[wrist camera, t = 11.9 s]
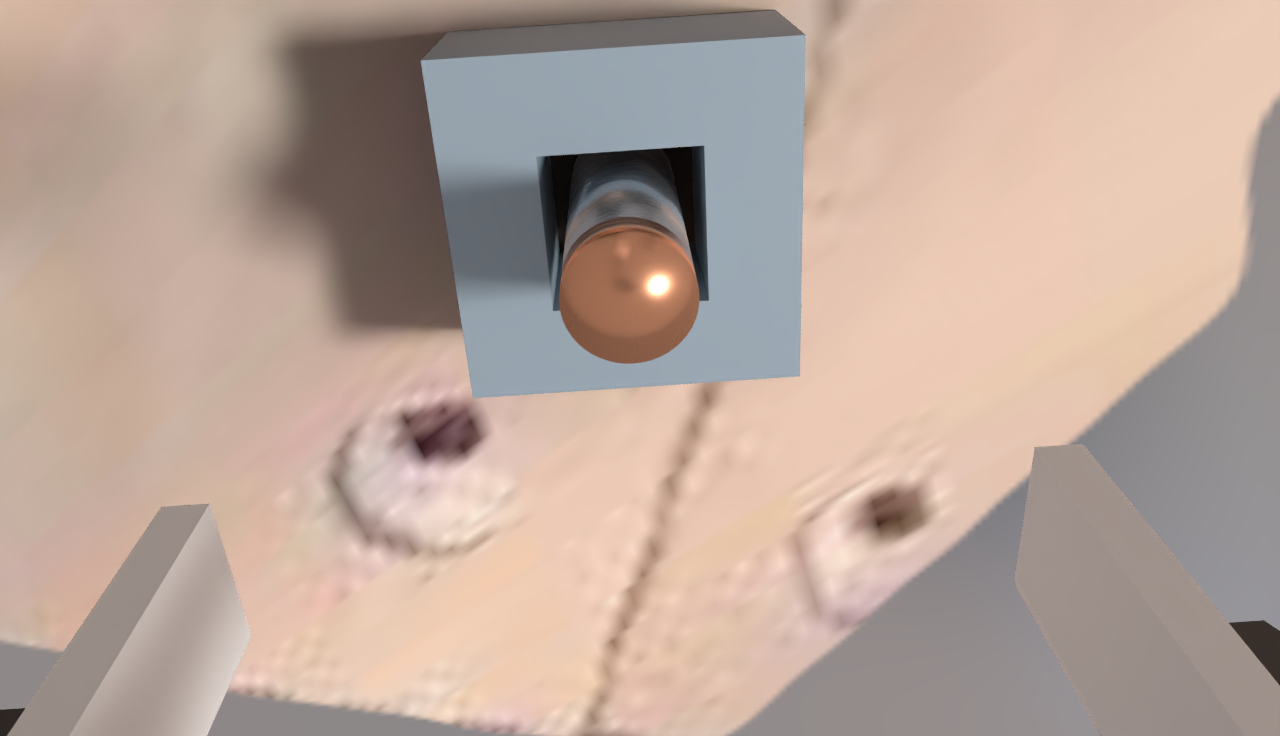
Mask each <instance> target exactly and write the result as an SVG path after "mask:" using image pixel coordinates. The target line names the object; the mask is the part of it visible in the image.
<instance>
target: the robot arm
mask: <svg viewBox="0 0 1280 736" xmlns="http://www.w3.org/2000/svg"><path fill="white" fill-rule="evenodd" d="M1014 583H1015V585H1016V587H1017V589H1018V590H1019V592H1020V594H1021V596H1022V597H1023V599H1024V601H1025V603H1026V604H1027V606H1028V608H1029V610H1030V612H1031V613H1032V615H1033V617H1034V619H1035V621H1036V622H1037V624H1038V626H1039V627H1040V629H1041V631H1042V633H1043V635H1044V636H1045V638H1046V640H1047V642H1048V643H1049V645H1050V647H1051V649H1052V651H1053V652H1054V654H1055V656H1056V657H1057V659H1058V661H1059V663H1060V665H1061V666H1062V668H1063V670H1064V672H1065V674H1066V675H1067V677H1068V679H1069V681H1070V682H1071V684H1072V686H1073V688H1074V689H1075V691H1076V693H1077V695H1078V696H1079V698H1080V700H1081V702H1082V704H1083V705H1084V707H1085V709H1086V711H1087V712H1088V714H1089V715H1090V718H1091V719H1092V721H1093V723H1094V725H1095V726H1096V728H1097V730H1098V732H1099V733H1100V735H1101V736H1280V631H1279V630H1277V629H1276V628H1274V627H1272V626H1271V625H1270V624H1268V623H1267V622H1265V621H1264V620H1263V621H1249V622H1236V623H1228V622H1227V620H1226V619H1225V618H1224V617H1223V616H1222V614H1221V613H1220V612H1219V610H1218V609H1217V608H1216V607H1215V606H1214V604H1213V603H1212V602H1211V601H1210V599H1209V598H1208V597H1207V596H1206V594H1205V593H1204V592H1203V591H1202V590H1201V588H1200V587H1199V586H1198V585H1197V583H1196V582H1195V581H1194V580H1193V579H1192V577H1191V576H1190V575H1189V574H1188V573H1187V571H1186V570H1185V569H1184V568H1183V566H1182V565H1181V564H1180V563H1179V561H1178V560H1177V559H1176V558H1175V556H1174V555H1173V554H1172V553H1171V552H1170V550H1169V549H1168V548H1167V547H1166V546H1165V544H1164V543H1163V542H1162V541H1161V539H1160V538H1159V537H1158V536H1157V535H1156V533H1155V532H1154V531H1153V530H1152V528H1151V527H1150V526H1149V525H1148V523H1147V522H1146V521H1145V520H1144V518H1143V517H1142V516H1141V515H1140V514H1139V512H1138V511H1137V510H1136V509H1135V507H1134V506H1133V505H1132V504H1131V503H1130V501H1129V500H1128V499H1127V498H1126V496H1125V495H1124V494H1123V493H1122V492H1121V491H1120V489H1119V488H1118V487H1117V485H1116V484H1115V483H1114V482H1113V480H1112V479H1111V478H1110V477H1109V476H1108V474H1107V473H1106V472H1105V471H1104V469H1103V468H1102V467H1101V466H1100V465H1099V463H1098V462H1097V461H1096V460H1095V458H1094V457H1093V456H1092V455H1091V453H1090V452H1089V451H1088V450H1087V449H1086V447H1085V446H1084V445H1083V444H1077V445H1061V446H1047V447H1035V449H1034V456H1033V462H1032V469H1031V476H1030V482H1029V489H1028V495H1027V503H1026V509H1025V515H1024V522H1023V529H1022V535H1021V542H1020V548H1019V555H1018V562H1017V568H1016V575H1015V582H1014ZM251 636H252V635H251V631H250V628H249V625H248V622H247V619H246V616H245V613H244V610H243V606H242V603H241V600H240V597H239V594H238V591H237V588H236V585H235V581H234V578H233V575H232V572H231V569H230V566H229V563H228V560H227V556H226V553H225V550H224V547H223V544H222V541H221V538H220V535H219V531H218V528H217V525H216V522H215V519H214V516H213V513H212V509H211V506H210V504H198V505H183V506H169V507H161V508H160V510H159V511H158V513H157V514H156V516H155V517H154V519H153V520H152V522H151V523H150V525H149V526H148V528H147V529H146V530H145V532H144V533H143V535H142V536H141V538H140V539H139V541H138V542H137V544H136V545H135V547H134V548H133V550H132V551H131V553H130V554H129V556H128V557H127V559H126V560H125V562H124V563H123V565H122V566H121V568H120V569H119V570H118V572H117V573H116V575H115V576H114V578H113V579H112V581H111V582H110V584H109V585H108V587H107V588H106V590H105V591H104V593H103V594H102V596H101V597H100V599H99V600H98V602H97V603H96V605H95V606H94V608H93V609H92V610H91V612H90V613H89V615H88V616H87V618H86V619H85V621H84V622H83V624H82V625H81V627H80V628H79V630H78V631H77V633H76V634H75V636H74V637H73V639H72V640H71V642H70V643H69V645H68V646H67V648H66V649H65V651H64V652H63V653H62V655H61V656H60V658H59V659H58V661H57V662H56V664H55V665H54V667H53V668H52V670H51V672H50V673H49V674H48V676H47V677H46V679H45V680H44V682H43V683H42V685H41V686H40V688H39V689H38V691H37V692H36V693H35V695H34V696H33V698H32V699H31V701H30V702H29V704H28V706H27V707H26V708H22V709H7V710H0V736H207V734H208V732H209V730H210V727H211V725H212V723H213V721H214V718H215V716H216V714H217V712H218V710H219V707H220V705H221V703H222V701H223V698H224V696H225V694H226V692H227V690H228V687H229V685H230V683H231V681H232V678H233V676H234V674H235V672H236V669H237V667H238V665H239V663H240V661H241V658H242V656H243V654H244V652H245V649H246V647H247V645H248V643H249V640H250V638H251Z"/></svg>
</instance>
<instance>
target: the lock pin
mask: <svg viewBox="0 0 1280 736" xmlns="http://www.w3.org/2000/svg"><path fill="white" fill-rule="evenodd" d="M699 298H700V296H699V287H698V283H697V278H696V274H695V269H694V265H693V260H692V256H691V251H690V247H689V243H688V238H687V234H686V229H685V225H684V220H683V216H682V211H681V207H680V202H679V198H678V193H677V189H676V185H675V180H674V176H673V171H672V167H671V164H670V161H669V159H668V157H667V155H666V154H665V152H664V151H663V149H662V148H659V149H644V150H629V151H614V152H599V153H584V154H579V155H578V157H577V159H576V161H575V164H574V167H573V171H572V179H571V189H570V198H569V208H568V217H567V227H566V236H565V245H564V255H563V264H562V274H561V283H560V293H559V307H560V312H561V316H562V319H563V322H564V324H565V326H566V328H567V330H568V332H569V333H570V335H571V336H572V337H573V339H574V340H575V341H576V342H577V343H578V344H579V345H580V346H581V347H582V348H584V349H585V350H586V351H588V352H589V353H591V354H593V355H595V356H597V357H599V358H601V359H604V360H607V361H611V362H615V363H623V364H634V363H642V362H647V361H651V360H653V359H656V358H659V357H661V356H663V355H665V354H667V353H668V352H670V351H671V350H673V349H674V348H675V347H676V346H678V345H679V344H680V343H681V342H682V341H683V340H684V338H685V337H686V336H687V335H688V333H689V332H690V330H691V329H692V327H693V324H694V322H695V320H696V317H697V314H698V309H699Z"/></svg>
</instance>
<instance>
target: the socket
mask: <svg viewBox="0 0 1280 736" xmlns="http://www.w3.org/2000/svg"><path fill="white" fill-rule="evenodd" d="M805 36H806V35H805V34H804V33H803V32H801V31H800V30H799V29H798V28H797V27H795V26H794V25H793V24H792V23H791V22H789V21H788V20H787V19H786V18H785V17H783V16H782V15H781V14H780V13H779V12H777V11H776V10H769V11H754V12H739V13H724V14H709V15H694V16H679V17H664V18H649V19H634V20H619V21H604V22H588V23H573V24H558V25H543V26H528V27H513V28H498V29H483V30H468V31H453V32H447V33H446V34H445V35H444V37H443V38H442V39H441V40H440V41H439V42H438V43H437V44H436V45H435V46H434V47H433V48H432V49H431V50H430V51H429V52H428V53H427V54H426V55H425V56H424V57H423V59H422V60H421V67H422V73H423V80H424V86H425V92H426V99H427V105H428V112H429V118H430V125H431V131H432V137H433V144H434V150H435V157H436V163H437V170H438V176H439V182H440V189H441V195H442V202H443V208H444V214H445V221H446V227H447V234H448V240H449V247H450V253H451V259H452V266H453V272H454V279H455V285H456V292H457V298H458V304H459V311H460V317H461V324H462V330H463V337H464V343H465V349H466V356H467V362H468V369H469V375H470V381H471V388H472V394H473V398H483V397H498V396H513V395H528V394H543V393H558V392H572V391H587V390H602V389H617V388H632V387H647V386H662V385H677V384H691V383H706V382H721V381H736V380H751V379H766V378H781V377H796V376H800V331H801V272H802V213H803V154H804V95H805ZM689 146H692V173H693V201H694V230H695V243H689V247H690V251H691V256H692V260H693V265H694V269H695V274H696V278H697V283H698V287H699V296H700V298H699V309H698V314H697V317H696V320H695V322H694V324H693V327H692V329H691V330H690V332H689V333H688V335H687V336H686V337H685V338H684V340H683V341H682V342H681V343H680V344H679V345H678V346H676V347H675V348H674V349H673V350H671V351H670V352H668V353H667V354H665V355H663V356H661V357H659V358H656V359H653V360H651V361H647V362H642V363H634V364H623V363H615V362H611V361H607V360H604V359H601V358H599V357H597V356H595V355H593V354H591V353H589V352H588V351H586V350H585V349H584V348H582V347H581V346H580V345H579V344H578V343H577V342H576V341H575V340H574V339H573V337H572V336H571V335H570V333H569V332H568V330H567V328H566V326H565V324H564V322H563V319H562V316H561V312H560V307H559V293H560V283H561V274H562V264H563V255H564V251H562V252H560V249H559V239H558V229H557V220H556V210H555V200H554V190H553V180H552V171H551V161H550V156H554V155H569V154H584V153H599V152H614V151H629V150H644V149H659V148H674V147H689Z"/></svg>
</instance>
